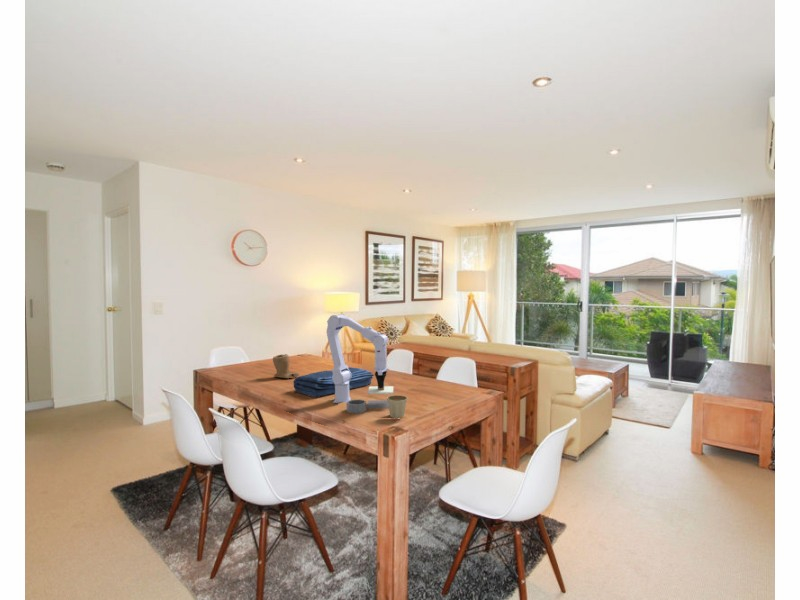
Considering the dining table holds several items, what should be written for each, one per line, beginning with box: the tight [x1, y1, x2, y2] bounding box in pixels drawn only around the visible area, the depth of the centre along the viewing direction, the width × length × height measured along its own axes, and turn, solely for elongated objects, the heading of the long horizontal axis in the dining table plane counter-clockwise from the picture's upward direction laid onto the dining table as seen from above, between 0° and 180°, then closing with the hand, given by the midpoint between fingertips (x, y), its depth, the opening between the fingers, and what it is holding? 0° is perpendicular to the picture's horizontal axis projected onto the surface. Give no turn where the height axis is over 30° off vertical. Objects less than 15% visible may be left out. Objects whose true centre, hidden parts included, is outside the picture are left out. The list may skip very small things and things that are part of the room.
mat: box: [366, 400, 389, 409], centre depth 207 cm, size 13×13×1 cm
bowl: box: [345, 399, 367, 414], centre depth 197 cm, size 9×9×4 cm
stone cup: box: [272, 353, 300, 379], centre depth 269 cm, size 15×12×15 cm
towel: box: [293, 366, 375, 398], centre depth 243 cm, size 24×43×10 cm, turn 139°
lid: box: [367, 384, 394, 395], centre depth 207 cm, size 12×12×5 cm
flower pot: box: [386, 394, 408, 420], centre depth 189 cm, size 9×9×9 cm
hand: (380, 386), depth 207 cm, fingers closed on lid, 3 cm apart
